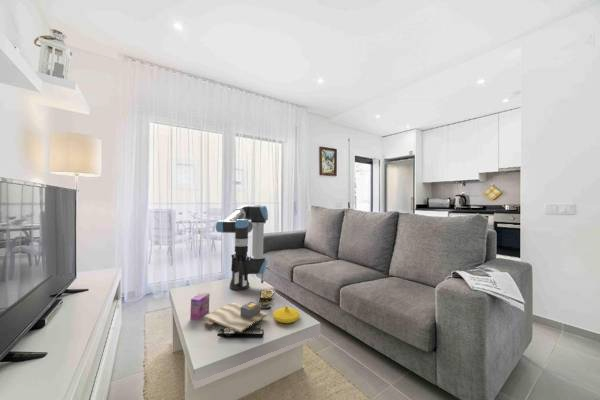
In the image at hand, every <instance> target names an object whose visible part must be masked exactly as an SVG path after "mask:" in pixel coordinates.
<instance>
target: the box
mask: <svg viewBox="0 0 600 400" xmlns="http://www.w3.org/2000/svg"><path fill="white" fill-rule="evenodd" d="M209 312H210V293H209V292H199V293H198V294H196V295H195V296H194V297H192V298H190V314H189V315H190V320H191V321H192V320H194V321H200V320H201V319H203V318H204V316H205V315H207V314H209Z"/></svg>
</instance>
